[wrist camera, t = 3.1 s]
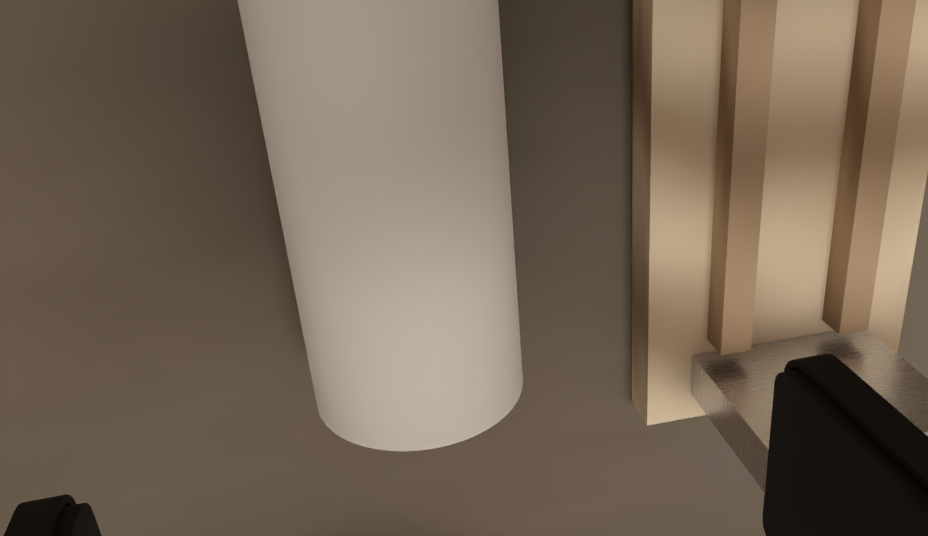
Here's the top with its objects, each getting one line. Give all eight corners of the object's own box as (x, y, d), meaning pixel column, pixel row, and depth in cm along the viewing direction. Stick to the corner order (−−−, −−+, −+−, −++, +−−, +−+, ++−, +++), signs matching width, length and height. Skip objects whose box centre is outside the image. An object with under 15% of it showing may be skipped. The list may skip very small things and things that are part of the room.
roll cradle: (633, -265, 21) (775, -321, 15) (963, -290, 22) (1226, -354, 16) (631, 400, 30) (719, 541, 23) (867, 358, 31) (1011, 482, 25)
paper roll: (238, -51, 22) (219, -26, 16) (468, -75, 22) (521, -58, 17) (315, 351, 27) (319, 471, 21) (498, 321, 28) (546, 429, 22)
